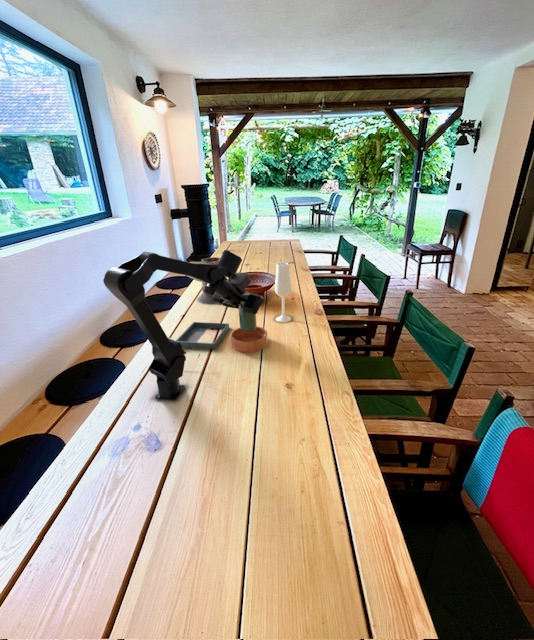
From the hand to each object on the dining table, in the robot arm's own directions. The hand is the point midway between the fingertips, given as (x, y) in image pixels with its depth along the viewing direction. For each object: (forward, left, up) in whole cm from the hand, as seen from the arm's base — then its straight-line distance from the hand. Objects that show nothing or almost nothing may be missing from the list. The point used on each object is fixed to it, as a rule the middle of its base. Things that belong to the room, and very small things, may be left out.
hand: (249, 310), depth 113 cm
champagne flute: (+23, -8, -14) cm, 28 cm away
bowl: (-1, +1, -13) cm, 13 cm away
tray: (+2, +20, -13) cm, 24 cm away
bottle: (-1, +1, -6) cm, 7 cm away
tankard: (+48, +31, -14) cm, 58 cm away
